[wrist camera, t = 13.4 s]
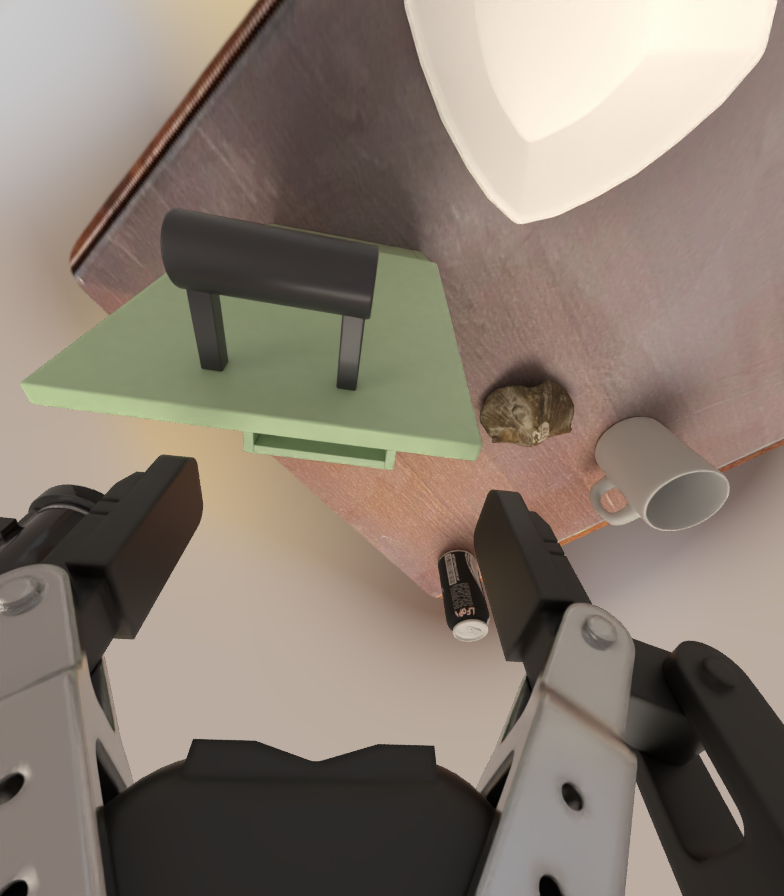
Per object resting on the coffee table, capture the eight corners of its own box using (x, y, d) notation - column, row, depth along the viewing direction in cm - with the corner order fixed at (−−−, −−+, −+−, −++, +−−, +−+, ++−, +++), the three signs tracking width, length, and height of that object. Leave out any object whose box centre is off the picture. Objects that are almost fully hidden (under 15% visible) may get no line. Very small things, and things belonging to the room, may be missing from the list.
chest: (390, 416, 45) (392, 470, 36) (272, 400, 44) (243, 452, 35) (421, 251, 36) (435, 267, 27) (272, 223, 34) (232, 230, 25)
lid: (476, 462, 13) (546, 306, 9) (29, 405, 11) (-95, 191, 8) (434, 274, 27) (455, 182, 23) (231, 237, 25) (220, 133, 21)
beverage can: (462, 575, 61) (478, 648, 51) (431, 566, 60) (440, 639, 50) (481, 552, 58) (501, 624, 48) (448, 542, 57) (462, 614, 47)
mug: (644, 402, 45) (711, 453, 36) (675, 444, 48) (744, 500, 39) (557, 463, 50) (597, 522, 40) (591, 497, 53) (635, 559, 44)
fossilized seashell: (473, 445, 45) (548, 446, 47) (502, 447, 38) (587, 448, 41) (475, 381, 45) (550, 385, 47) (504, 372, 38) (589, 378, 40)
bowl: (739, 85, 30) (801, 65, 26) (490, 254, 36) (506, 262, 32) (685, -379, 20) (771, -545, 16) (355, -37, 26) (349, -86, 22)
